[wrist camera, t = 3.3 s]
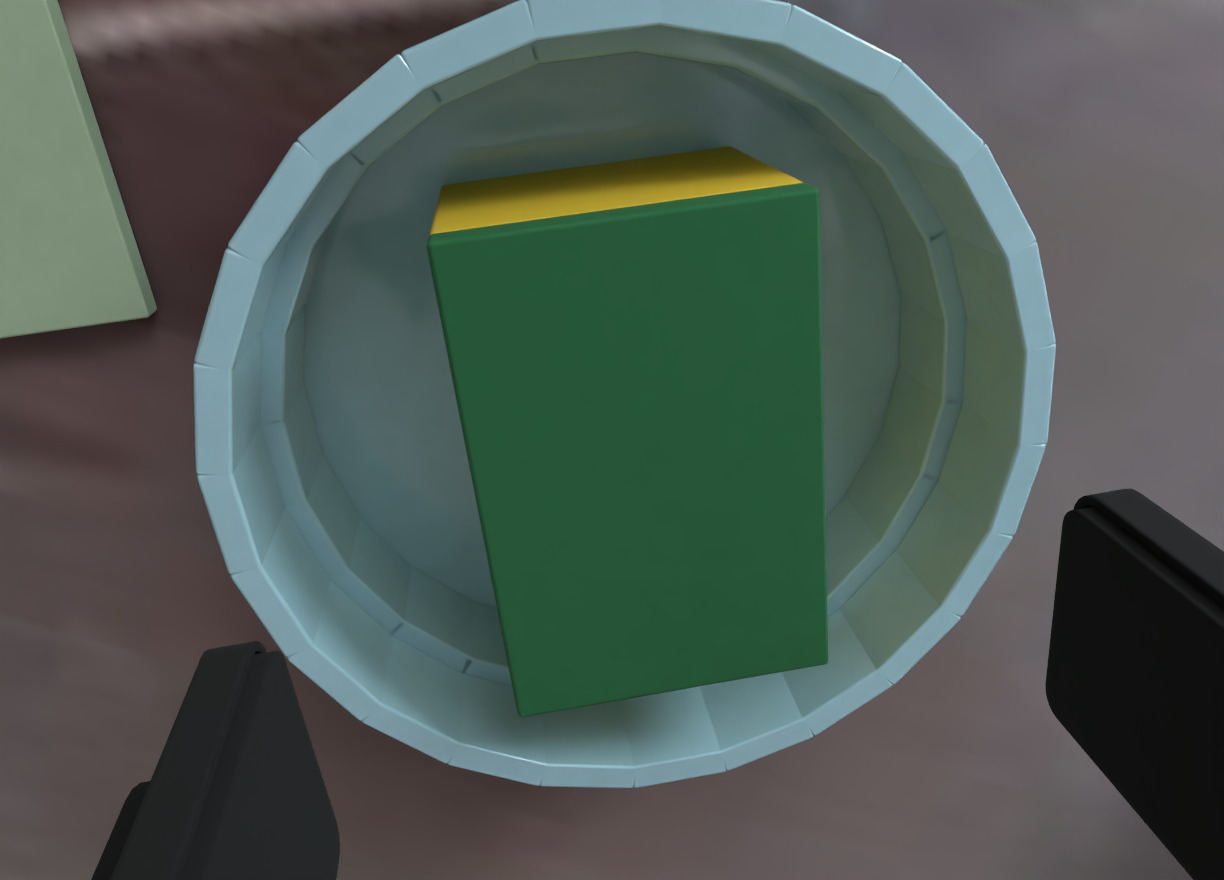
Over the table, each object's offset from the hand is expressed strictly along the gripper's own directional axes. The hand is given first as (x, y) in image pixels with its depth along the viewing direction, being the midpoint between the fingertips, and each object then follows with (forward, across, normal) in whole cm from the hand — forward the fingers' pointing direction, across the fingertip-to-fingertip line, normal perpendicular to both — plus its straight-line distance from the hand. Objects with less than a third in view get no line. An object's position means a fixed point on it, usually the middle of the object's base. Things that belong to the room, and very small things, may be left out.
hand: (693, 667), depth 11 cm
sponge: (+11, -1, 0) cm, 11 cm away
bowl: (+11, -1, 0) cm, 11 cm away
